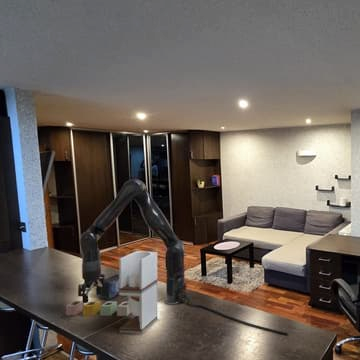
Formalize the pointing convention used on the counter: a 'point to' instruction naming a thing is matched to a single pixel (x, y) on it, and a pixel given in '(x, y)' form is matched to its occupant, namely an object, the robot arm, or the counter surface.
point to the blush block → (74, 308)
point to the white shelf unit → (139, 289)
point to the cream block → (123, 309)
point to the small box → (110, 288)
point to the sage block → (108, 308)
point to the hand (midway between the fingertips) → (92, 298)
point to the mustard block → (91, 308)
